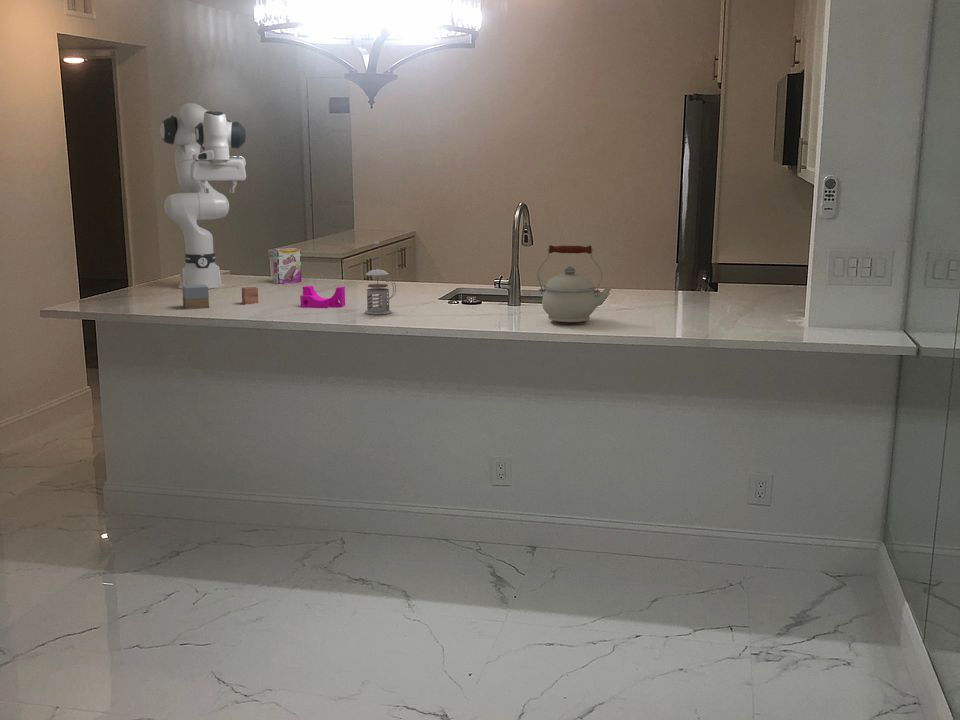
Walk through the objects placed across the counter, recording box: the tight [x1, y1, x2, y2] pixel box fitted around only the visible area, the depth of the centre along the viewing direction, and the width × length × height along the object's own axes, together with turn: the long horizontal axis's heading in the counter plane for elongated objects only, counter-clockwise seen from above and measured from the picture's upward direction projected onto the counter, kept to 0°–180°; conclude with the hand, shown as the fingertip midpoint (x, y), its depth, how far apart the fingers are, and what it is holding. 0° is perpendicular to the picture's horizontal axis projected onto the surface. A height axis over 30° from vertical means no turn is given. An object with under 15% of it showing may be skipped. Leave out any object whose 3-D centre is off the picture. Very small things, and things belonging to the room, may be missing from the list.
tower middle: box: [182, 285, 210, 299], centre depth 345 cm, size 8×8×4 cm
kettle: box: [536, 244, 612, 323], centre depth 317 cm, size 25×18×25 cm
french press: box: [364, 241, 397, 315], centre depth 331 cm, size 10×12×25 cm
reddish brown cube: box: [241, 286, 259, 306], centre depth 354 cm, size 5×5×6 cm
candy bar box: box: [272, 247, 302, 285], centre depth 401 cm, size 11×5×16 cm, turn 130°
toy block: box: [299, 285, 346, 309], centre depth 346 cm, size 15×6×8 cm, turn 79°
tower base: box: [182, 296, 210, 310], centre depth 345 cm, size 8×8×4 cm
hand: (219, 193), depth 354 cm, fingers open, 8 cm apart
